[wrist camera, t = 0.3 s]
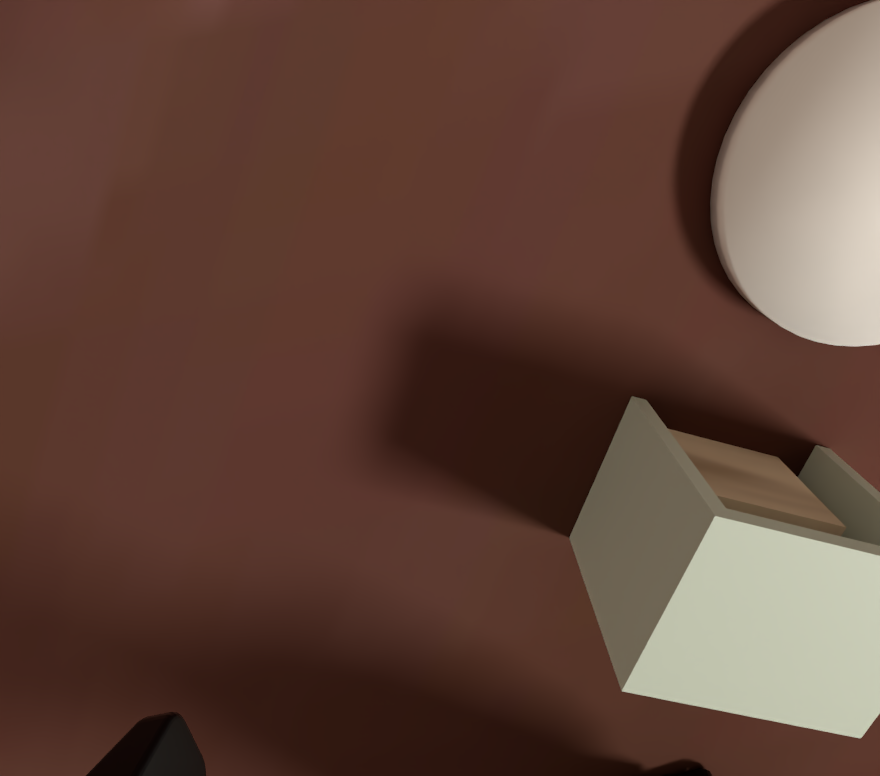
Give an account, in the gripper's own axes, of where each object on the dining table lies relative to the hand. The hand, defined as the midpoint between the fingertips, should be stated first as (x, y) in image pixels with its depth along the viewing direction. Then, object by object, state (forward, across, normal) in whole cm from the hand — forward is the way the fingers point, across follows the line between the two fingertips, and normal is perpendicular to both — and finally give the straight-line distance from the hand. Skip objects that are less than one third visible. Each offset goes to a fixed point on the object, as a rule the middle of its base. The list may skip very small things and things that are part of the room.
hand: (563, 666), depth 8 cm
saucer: (+13, -12, -2) cm, 18 cm away
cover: (+14, -6, +8) cm, 17 cm away
